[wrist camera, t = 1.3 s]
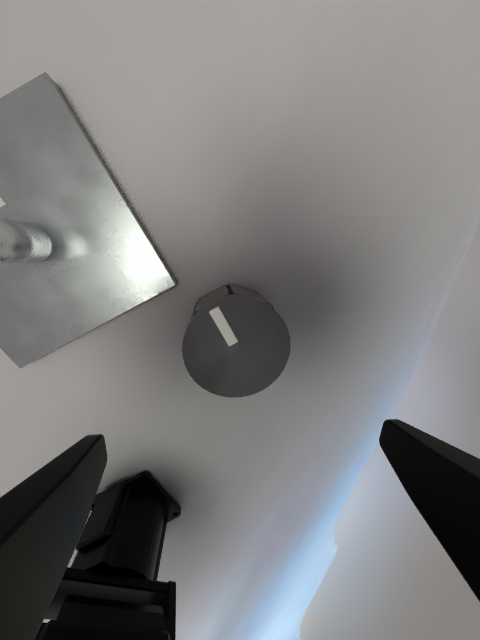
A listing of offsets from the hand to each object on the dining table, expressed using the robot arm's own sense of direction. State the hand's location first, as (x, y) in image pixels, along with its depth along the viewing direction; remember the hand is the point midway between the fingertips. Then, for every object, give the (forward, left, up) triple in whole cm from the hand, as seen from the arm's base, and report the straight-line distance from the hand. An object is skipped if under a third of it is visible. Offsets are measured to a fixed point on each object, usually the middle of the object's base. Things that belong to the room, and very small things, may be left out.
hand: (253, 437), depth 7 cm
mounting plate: (+11, +8, -12) cm, 18 cm away
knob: (0, 0, -12) cm, 12 cm away
